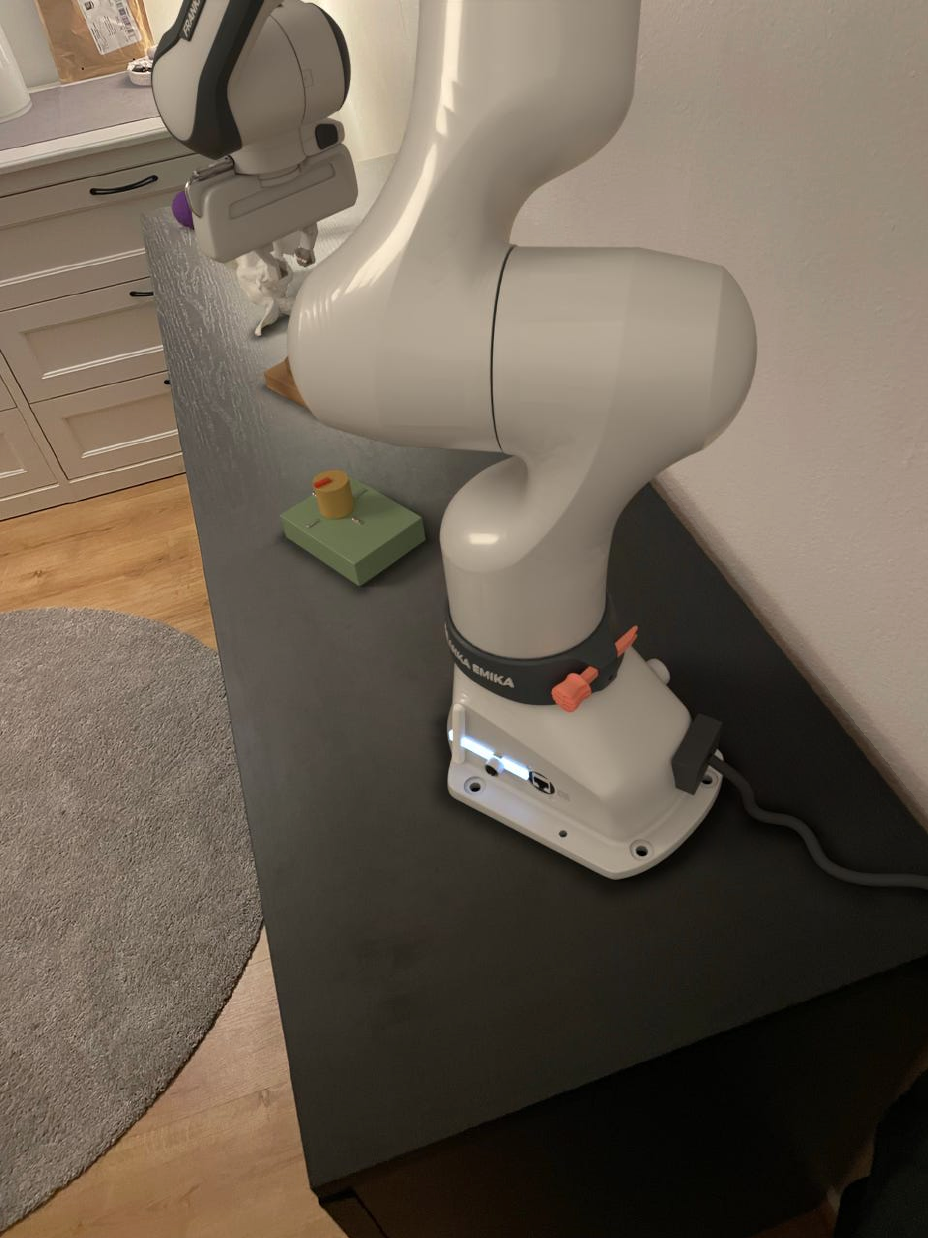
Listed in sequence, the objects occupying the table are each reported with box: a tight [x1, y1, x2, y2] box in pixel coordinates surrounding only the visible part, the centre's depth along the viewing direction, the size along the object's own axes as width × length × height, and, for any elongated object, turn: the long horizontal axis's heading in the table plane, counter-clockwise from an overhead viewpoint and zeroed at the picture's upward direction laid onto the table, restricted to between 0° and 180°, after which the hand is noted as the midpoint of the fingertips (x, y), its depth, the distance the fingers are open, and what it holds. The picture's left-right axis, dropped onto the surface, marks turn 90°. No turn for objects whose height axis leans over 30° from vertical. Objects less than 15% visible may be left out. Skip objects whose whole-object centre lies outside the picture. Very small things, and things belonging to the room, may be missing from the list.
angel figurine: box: [222, 231, 302, 337], centre depth 128 cm, size 14×20×12 cm
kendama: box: [171, 189, 195, 229], centre depth 156 cm, size 6×6×20 cm
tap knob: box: [312, 469, 355, 519], centre depth 89 cm, size 4×4×4 cm
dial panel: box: [279, 473, 427, 587], centre depth 91 cm, size 12×9×3 cm
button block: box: [263, 355, 309, 410], centre depth 113 cm, size 11×9×4 cm
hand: (293, 270), depth 103 cm, fingers open, 3 cm apart
